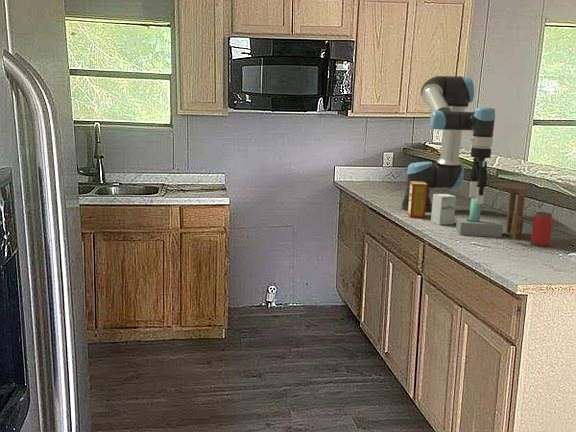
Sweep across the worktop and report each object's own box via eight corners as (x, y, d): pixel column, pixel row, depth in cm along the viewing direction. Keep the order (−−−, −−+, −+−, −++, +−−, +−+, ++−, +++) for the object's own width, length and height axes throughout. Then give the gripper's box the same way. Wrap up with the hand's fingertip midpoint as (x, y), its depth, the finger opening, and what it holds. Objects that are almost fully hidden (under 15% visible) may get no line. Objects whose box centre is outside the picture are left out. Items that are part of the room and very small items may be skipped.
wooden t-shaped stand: (489, 230, 232) (494, 183, 228) (511, 231, 231) (517, 184, 227) (497, 238, 219) (502, 187, 215) (521, 239, 218) (527, 188, 214)
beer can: (533, 241, 215) (537, 211, 212) (551, 244, 211) (555, 213, 208) (528, 244, 210) (532, 213, 207) (546, 247, 206) (550, 215, 203)
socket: (456, 229, 232) (457, 217, 231) (495, 231, 230) (496, 219, 229) (460, 234, 222) (461, 222, 221) (501, 237, 220) (502, 224, 219)
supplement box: (439, 225, 240) (441, 196, 237) (430, 221, 247) (432, 193, 244) (454, 224, 242) (456, 196, 239) (445, 221, 249) (447, 193, 246)
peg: (467, 231, 229) (470, 198, 226) (477, 232, 228) (480, 198, 225) (468, 233, 225) (472, 199, 222) (479, 234, 224) (482, 200, 222)
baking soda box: (424, 218, 254) (427, 183, 251) (410, 217, 255) (413, 183, 251) (421, 214, 263) (424, 180, 260) (407, 213, 264) (410, 180, 261)
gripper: (466, 144, 232) (461, 194, 237) (478, 150, 208) (472, 205, 213) (484, 145, 231) (479, 195, 236) (498, 150, 207) (492, 206, 212)
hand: (475, 200), depth 224 cm, fingers open, 13 cm apart
